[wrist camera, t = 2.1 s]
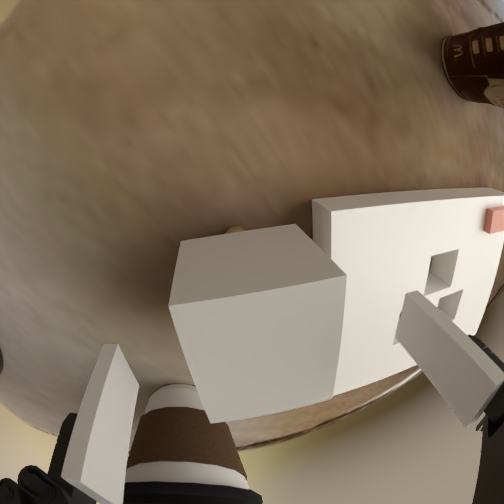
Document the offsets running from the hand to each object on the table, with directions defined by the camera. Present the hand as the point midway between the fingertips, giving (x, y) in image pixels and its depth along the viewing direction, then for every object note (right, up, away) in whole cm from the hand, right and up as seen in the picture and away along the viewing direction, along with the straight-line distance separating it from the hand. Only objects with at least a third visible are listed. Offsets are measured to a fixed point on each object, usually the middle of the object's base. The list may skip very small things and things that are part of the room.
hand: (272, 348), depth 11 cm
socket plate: (+13, +2, +10) cm, 17 cm away
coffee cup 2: (+17, +20, +3) cm, 27 cm away
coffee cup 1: (-7, -10, +11) cm, 17 cm away
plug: (-2, +3, +7) cm, 8 cm away
